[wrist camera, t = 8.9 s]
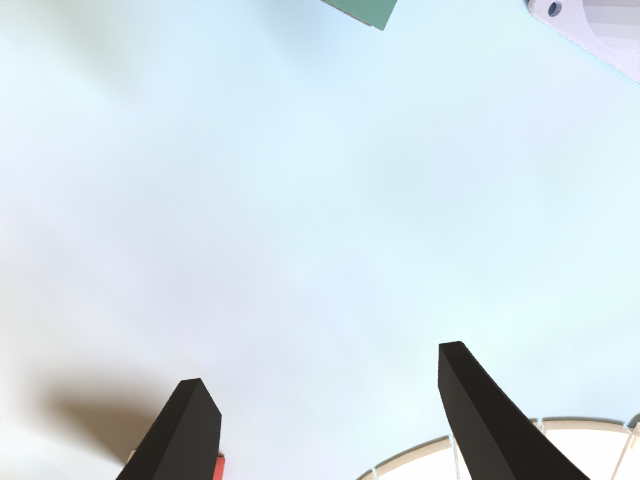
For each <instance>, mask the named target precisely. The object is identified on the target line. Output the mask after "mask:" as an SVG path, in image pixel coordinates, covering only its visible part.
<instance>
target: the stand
mask: <svg viewBox="0 0 640 480" xmlns="http://www.w3.org/2000/svg"><path fill="white" fill-rule="evenodd" d="M321 1H323V2H325V3H327V4H329V5H330V6H332V7H334V8H336V9H338V10H340V11H342V12H344V13H345V14H347V15H349V16H351V17H353V18H355V19H357V20H359V21H360V22H362V23H364V24H366V25H368V26H371V25H372V26H374V27H376V28H378V29H379V30H382V31H383V30H384V28H385V26H386V23H387V21H388V19H389V17H390V15H391V13H392V11H393V8H394V6H395V4H396V2H397V0H321Z"/></svg>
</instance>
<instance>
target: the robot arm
mask: <svg viewBox="0 0 640 480" xmlns="http://www.w3.org/2000/svg"><path fill="white" fill-rule="evenodd" d="M553 2H555V4H556V9H555V11H554V13H553V14H552V15H551V16H549V14H548V9H549V7H550V5H551V4H552V3H553ZM528 11H529V14H530V15H531V16H532V17H534V18H535V19H537V20H538V21H540V22H542V23H543V24H545V25H546V26H548V27H550V28H551V29H553V30H554V31H556V32H558V33H559V34H561V35H562V36H564V37H566V38H567V39H569V40H570V41H572V42H574V43H575V44H577V45H578V46H580V47H582V48H583V49H585V50H586V51H588V52H590V53H591V54H593V55H594V56H596V57H598V58H599V59H601V60H602V61H604V62H606V63H607V64H609V65H610V66H612V67H613V68H615V69H617V70H618V71H620V72H621V73H623V74H625V75H626V76H628V77H629V78H631V79H633V80H634V81H636V82H637V83H639V84H640V0H529V3H528ZM438 388H439V392H440V395H441V399H442V402H443V406H444V409H445V412H446V415H447V419H448V422H449V424H450V427H451V429H452V432H453V434H454V437H455V439H456V442H457V444H458V447H459V449H460V452H461V454H462V457H463V459H464V462H465V464H466V467H467V469H468V471H469V474H470V476H471V479H472V480H591V479H590V478H589V477H588V476H586V475H585V474H584V473H583V472H582V471H581V470H580V469H579V468H578V467H577V466H575V465H574V464H573V463H572V462H571V461H570V460H569V459H568V458H567V457H566V456H565V455H564V454H563V453H562V452H561V451H560V450H559V449H558V448H557V447H556V446H555V445H554V444H553V443H552V442H551V441H550V440H549V439H548V438H547V437H546V436H545V435H544V434H543V433H542V432H541V431H540V430H539V429H538V428H537V427H536V426H535V425H534V424H533V423H532V422H531V421H530V420H529V419H528V418H527V417H526V416H525V415H524V414H523V413H522V412H521V411H520V409H519V408H518V407H517V406H516V405H515V404H514V403H513V402H512V401H511V400H510V399H509V397H508V396H507V395H506V394H505V393H504V392H503V391H502V390H501V388H500V387H499V386H498V385H497V384H496V383H495V382H494V380H493V379H492V378H491V377H490V376H489V374H488V373H487V372H486V371H485V370H484V368H483V367H482V366H481V365H480V364H479V362H478V361H477V360H476V359H475V357H474V356H473V355H472V353H471V352H470V351H469V350H468V348H467V347H466V346H465V344H464V343H463V342H461V341H456V342H449V343H442V344H439V361H438ZM221 417H222V415H221V413H220V411H219V410H218V408H217V406H216V404H215V403H214V401H213V399H212V397H211V396H210V394H209V392H208V391H207V389H206V387H205V385H204V384H203V382H202V380H201V378H196V379H189V380H182V381H180V383H179V384H178V386H177V387H176V389H175V390H174V392H173V393H172V395H171V397H170V398H169V400H168V401H167V403H166V404H165V406H164V408H163V409H162V411H161V412H160V414H159V416H158V417H157V419H156V420H155V422H154V423H153V425H152V426H151V428H150V430H149V431H148V433H147V434H146V436H145V437H144V439H143V440H142V442H141V443H140V445H139V446H138V448H137V449H136V451H135V452H134V454H133V455H132V457H131V458H130V460H129V461H128V463H127V464H126V466H125V467H124V468H123V470H122V471H121V473H120V474H119V475H118V477H117V478H116V480H213V476H214V471H215V466H216V461H217V456H218V450H219V441H220V430H221Z"/></svg>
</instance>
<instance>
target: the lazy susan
mask: <svg viewBox="0 0 640 480" xmlns="http://www.w3.org/2000/svg"><path fill="white" fill-rule="evenodd" d="M532 423H533V424H534V425H535V426H536V427H537V428H538V429H539V430H540V431H541V432H542V433H543V434H544V435H545V436H546V437H547V438H548V439H549V440H550V441H551V442H552V443H553V444H554V445H555V446H556V447H557V448H558V449H559V450H560V451H561V452H562V453H563V454H564V455H565V456H566V457H567V458H568V459H569V460H570V461H571V462H572V463H573V464H574V465H575V466H577V467H578V468H579V469H580V470H581V471H582V472H583V473H584V474H585V475H586V476H588V477H589V478H590V479H591V480H640V422H638V423H637V425H636V427H635V428H630V427H626V430H625V428H624V427H623V426H622V425H617V424H611V423H604V422H594V421H574V420H564V421H542V425H541V428H540V426H539V424H538V422H532ZM454 446H455V455H456V464H457V473H458V480H472V479H471V476H470V474H469V471H468V469H467V467H466V464H465V462H464V459H463V457H462V454H461V452H460V449H459V447H458V444H457V442H456V439H455V437H454ZM376 471H377V478H378V480H456V477H455V469H454V460H453V452H452V446H451V443H450V440H449V438H448V439H445V440H442V441H439V442H436V443H433V444H430V445H427V446H424V447H422V448H419V449H416V450H414V451H412V452H409V453H407V454H405V455H402V456H400V457H398V458H396V459H394V460H392V461H390V462H388V463H386V464H384V465H383V466H381V467H379V468H377V469H376ZM361 480H376V479H375V476H374V474H373V472H371V473H369V474H368V475H367V476H365V477H364V478H362V479H361Z"/></svg>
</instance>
